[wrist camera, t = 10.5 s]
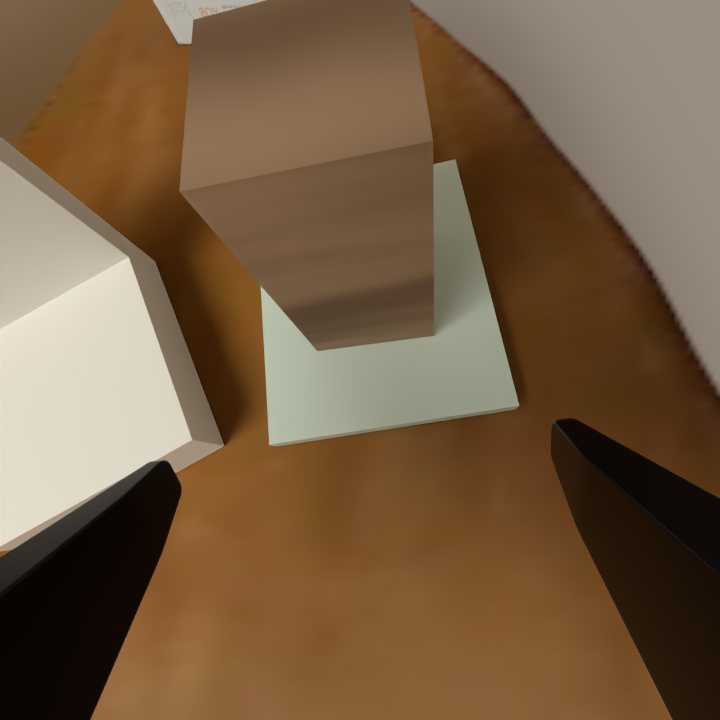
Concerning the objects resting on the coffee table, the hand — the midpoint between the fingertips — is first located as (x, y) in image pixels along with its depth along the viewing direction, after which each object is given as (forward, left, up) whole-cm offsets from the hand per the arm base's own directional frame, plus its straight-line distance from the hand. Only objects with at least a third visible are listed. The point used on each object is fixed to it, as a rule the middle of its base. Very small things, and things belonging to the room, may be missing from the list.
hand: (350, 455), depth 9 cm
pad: (+8, 0, -7) cm, 11 cm away
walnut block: (+8, 0, -7) cm, 10 cm away
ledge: (+6, +13, -7) cm, 16 cm away
